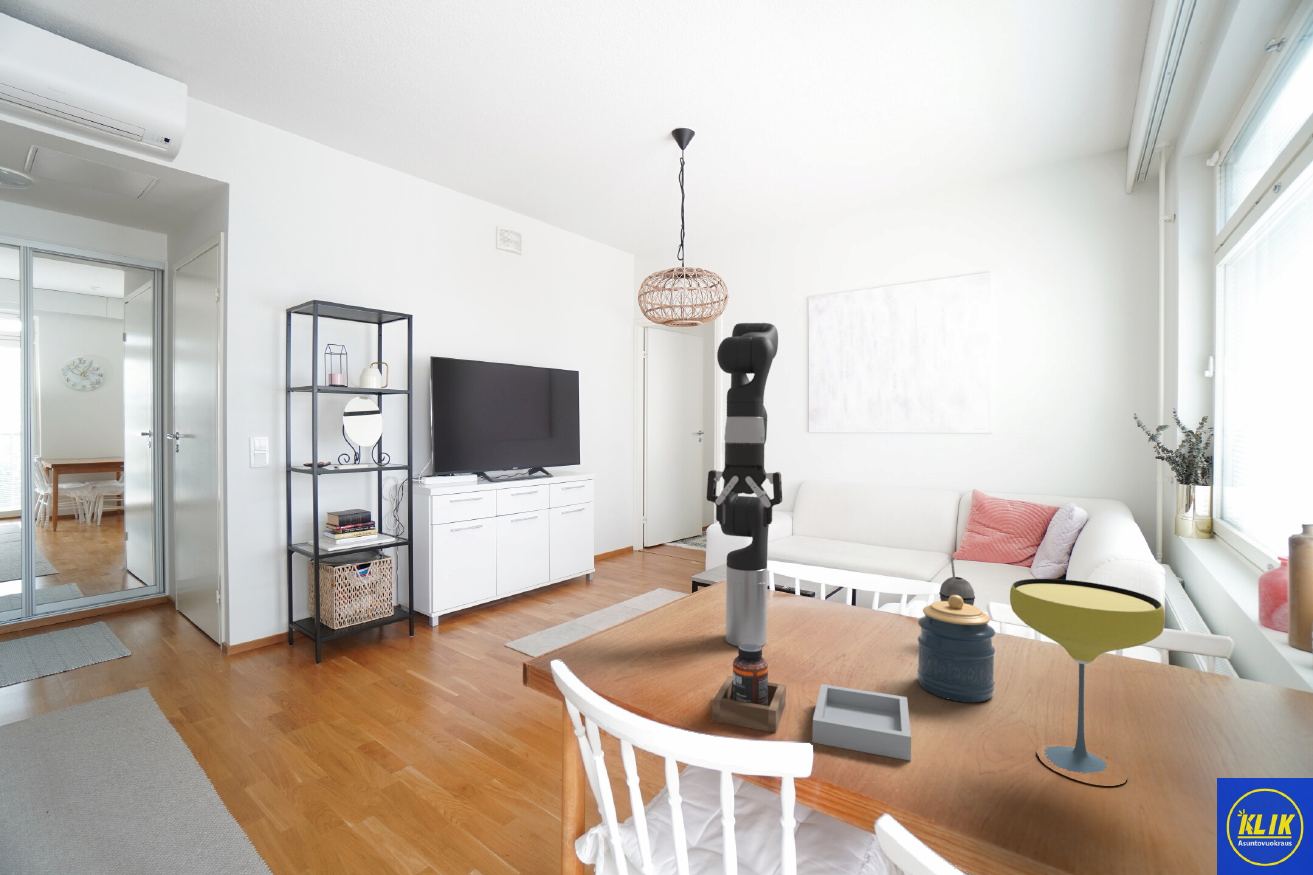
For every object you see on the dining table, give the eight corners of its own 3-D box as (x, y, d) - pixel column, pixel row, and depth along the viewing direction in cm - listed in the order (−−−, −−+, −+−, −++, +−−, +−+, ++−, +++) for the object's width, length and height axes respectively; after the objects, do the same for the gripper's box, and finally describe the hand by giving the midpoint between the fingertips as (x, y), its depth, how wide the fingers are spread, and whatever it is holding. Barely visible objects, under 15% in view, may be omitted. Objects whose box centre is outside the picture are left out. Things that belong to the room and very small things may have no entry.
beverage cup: (979, 653, 129) (980, 562, 129) (943, 650, 131) (944, 560, 131) (968, 641, 136) (969, 555, 136) (934, 639, 138) (935, 553, 138)
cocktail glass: (1197, 794, 79) (1200, 608, 79) (1086, 811, 75) (1089, 615, 75) (1075, 728, 96) (1077, 575, 96) (980, 739, 93) (982, 580, 92)
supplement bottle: (770, 707, 103) (770, 643, 103) (765, 723, 97) (765, 655, 97) (736, 702, 105) (736, 638, 104) (729, 717, 99) (729, 650, 99)
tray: (820, 703, 104) (821, 683, 104) (906, 717, 99) (906, 697, 99) (812, 742, 91) (812, 719, 91) (910, 760, 86) (911, 736, 86)
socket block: (727, 694, 107) (727, 675, 107) (785, 704, 104) (785, 684, 104) (712, 720, 98) (712, 699, 98) (775, 732, 94) (775, 710, 94)
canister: (990, 681, 114) (992, 591, 114) (998, 710, 103) (999, 608, 102) (917, 669, 120) (918, 583, 120) (916, 695, 108) (917, 599, 108)
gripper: (785, 441, 114) (784, 525, 114) (713, 440, 119) (712, 520, 119) (778, 441, 107) (777, 530, 107) (703, 440, 112) (702, 525, 112)
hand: (743, 525), depth 113 cm, fingers open, 8 cm apart
